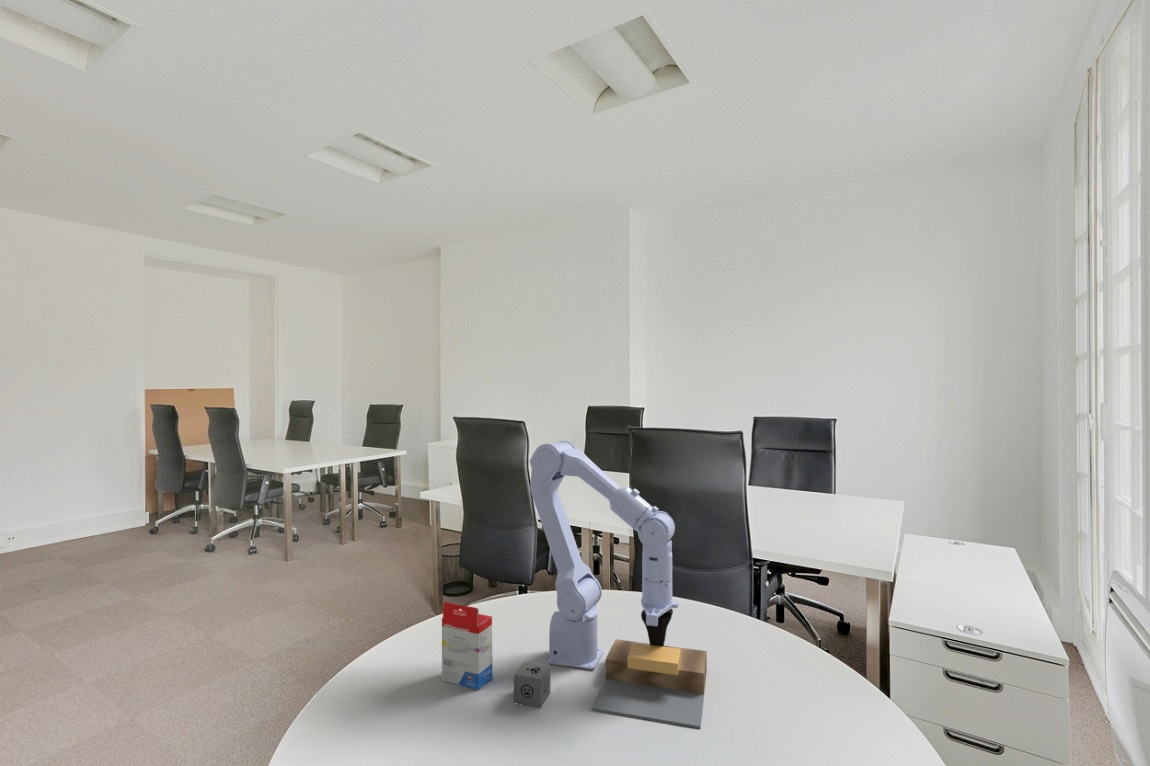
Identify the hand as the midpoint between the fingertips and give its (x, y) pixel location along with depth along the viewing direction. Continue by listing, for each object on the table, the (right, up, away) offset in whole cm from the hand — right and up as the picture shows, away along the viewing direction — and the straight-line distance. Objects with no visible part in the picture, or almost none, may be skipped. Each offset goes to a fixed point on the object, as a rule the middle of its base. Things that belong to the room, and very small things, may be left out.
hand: (657, 649), depth 105 cm
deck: (0, -5, -1) cm, 5 cm away
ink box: (-36, -5, -2) cm, 36 cm away
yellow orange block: (-1, -1, -4) cm, 4 cm away
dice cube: (-23, -5, -8) cm, 25 cm away
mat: (-3, -5, -9) cm, 11 cm away
